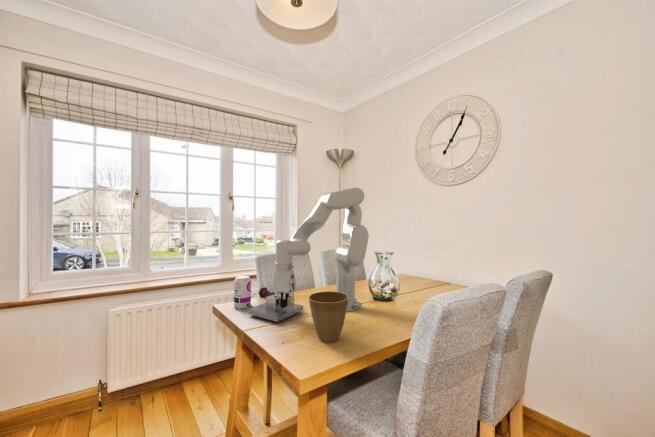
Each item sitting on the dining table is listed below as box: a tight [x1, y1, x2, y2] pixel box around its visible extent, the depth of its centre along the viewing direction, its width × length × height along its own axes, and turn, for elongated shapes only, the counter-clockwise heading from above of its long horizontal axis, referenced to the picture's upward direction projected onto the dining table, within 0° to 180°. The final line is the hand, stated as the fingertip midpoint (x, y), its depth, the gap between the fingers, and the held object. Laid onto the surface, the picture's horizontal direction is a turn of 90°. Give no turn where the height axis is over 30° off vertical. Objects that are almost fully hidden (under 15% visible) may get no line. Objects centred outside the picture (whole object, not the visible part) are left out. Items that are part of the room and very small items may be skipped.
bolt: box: [258, 286, 276, 298], centre depth 156 cm, size 6×5×15 cm
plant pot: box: [308, 290, 348, 343], centre depth 107 cm, size 15×15×16 cm
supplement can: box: [233, 275, 252, 310], centre depth 143 cm, size 8×8×15 cm
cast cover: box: [265, 293, 281, 310], centre depth 132 cm, size 6×6×5 cm
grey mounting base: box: [247, 294, 304, 323], centre depth 133 cm, size 18×20×7 cm
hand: (283, 306), depth 129 cm, fingers closed
